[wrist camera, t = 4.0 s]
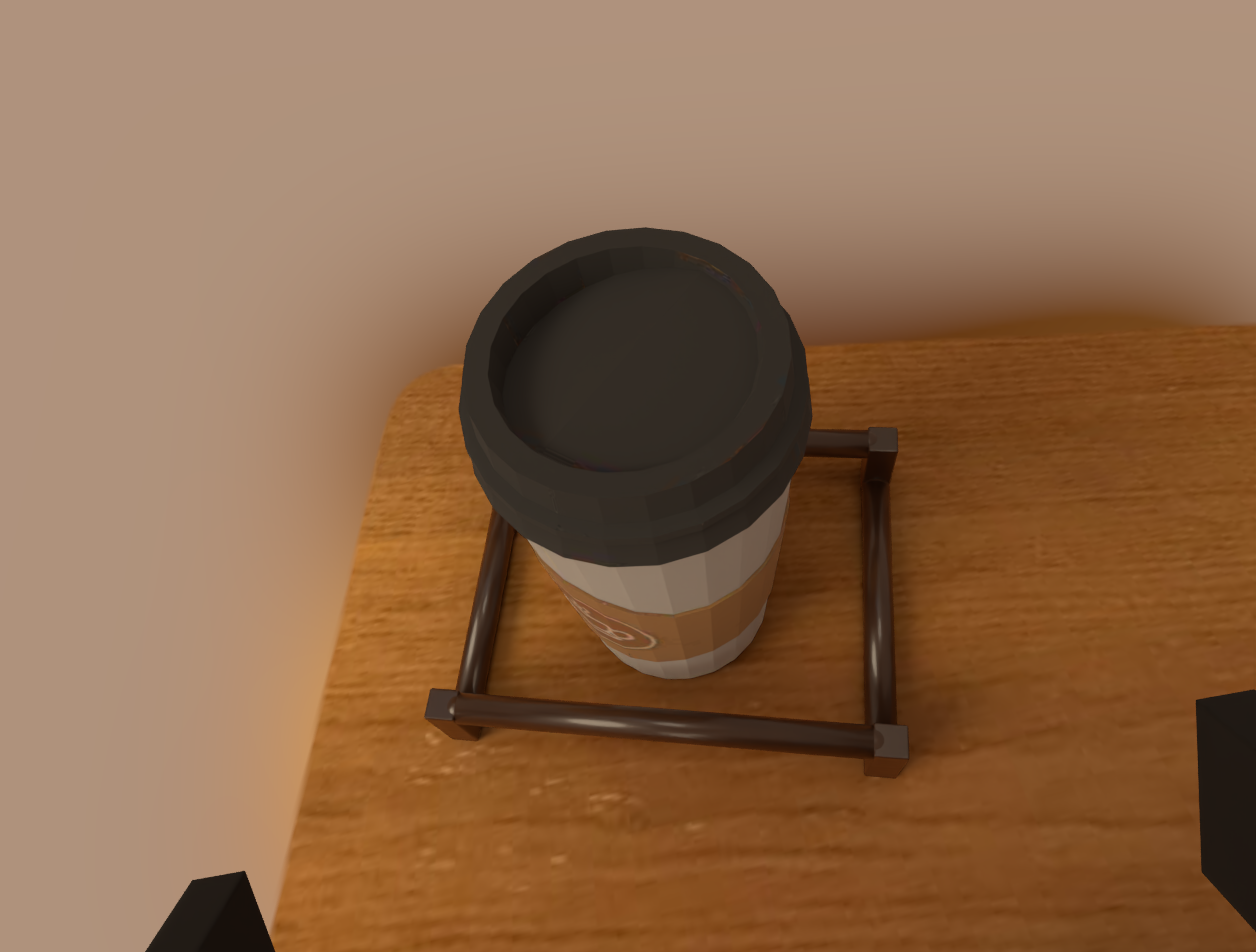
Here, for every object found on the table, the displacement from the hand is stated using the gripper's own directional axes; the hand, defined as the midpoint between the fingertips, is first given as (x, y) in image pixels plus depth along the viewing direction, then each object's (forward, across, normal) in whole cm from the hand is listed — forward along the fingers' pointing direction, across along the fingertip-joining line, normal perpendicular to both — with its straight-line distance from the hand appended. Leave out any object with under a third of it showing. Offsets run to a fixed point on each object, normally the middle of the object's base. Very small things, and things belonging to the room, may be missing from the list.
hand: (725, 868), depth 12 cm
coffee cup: (+20, 0, -5) cm, 20 cm away
